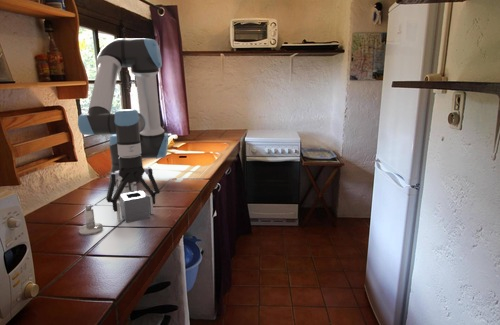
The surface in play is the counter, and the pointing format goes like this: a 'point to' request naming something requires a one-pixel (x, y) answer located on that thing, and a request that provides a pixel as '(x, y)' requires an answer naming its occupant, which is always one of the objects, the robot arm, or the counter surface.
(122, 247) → the counter surface
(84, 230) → the hub
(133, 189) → the ink box
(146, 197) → the block
